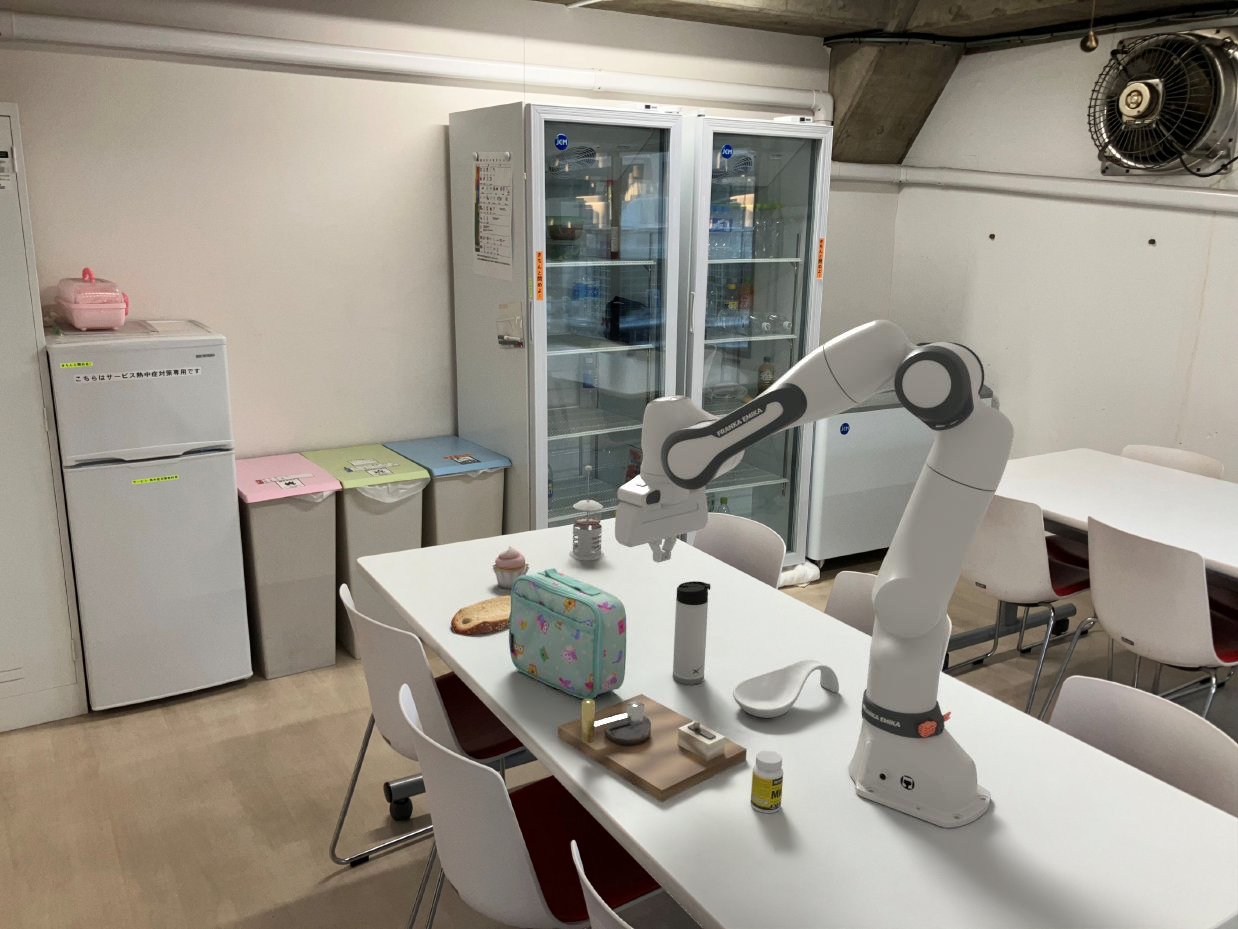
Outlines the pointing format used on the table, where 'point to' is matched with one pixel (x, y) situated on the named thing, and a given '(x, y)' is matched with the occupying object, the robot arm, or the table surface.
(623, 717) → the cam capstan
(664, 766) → the stand
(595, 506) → the french press
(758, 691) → the spoon rest
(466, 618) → the slice of bread
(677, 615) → the travel mug
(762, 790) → the supplement bottle
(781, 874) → the table surface
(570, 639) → the lunch box
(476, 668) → the table surface
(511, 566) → the cupcake
